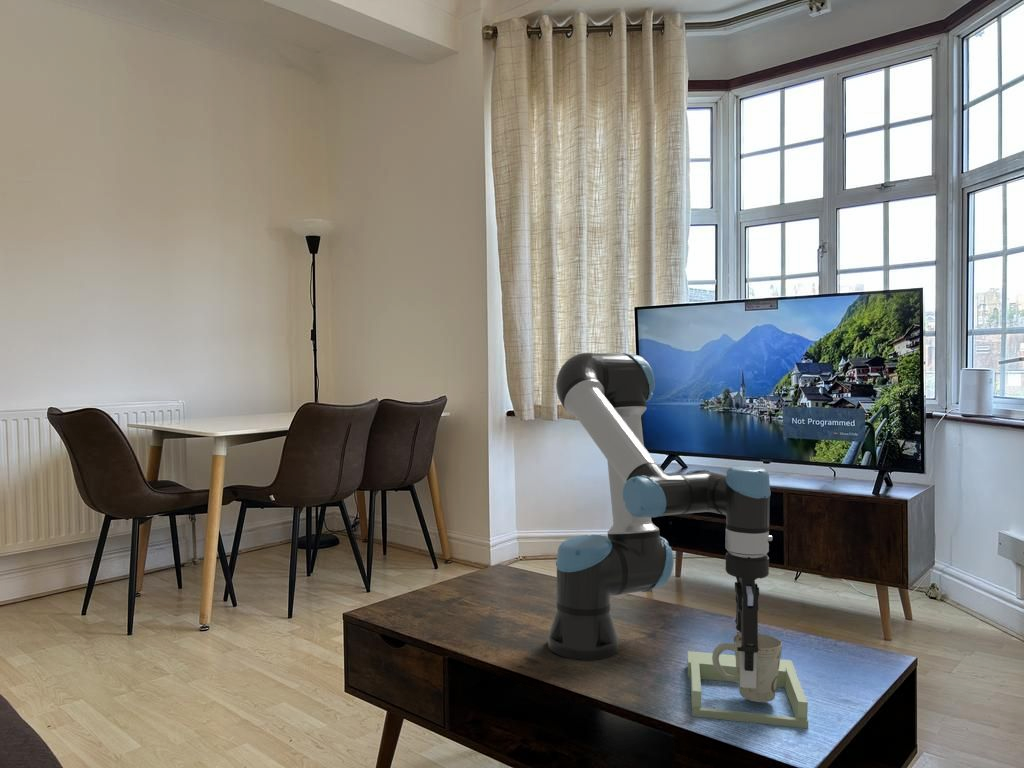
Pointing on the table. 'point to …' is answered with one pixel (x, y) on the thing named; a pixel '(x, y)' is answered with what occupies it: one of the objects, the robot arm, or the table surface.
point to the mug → (765, 667)
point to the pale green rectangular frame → (704, 669)
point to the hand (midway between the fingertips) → (745, 676)
